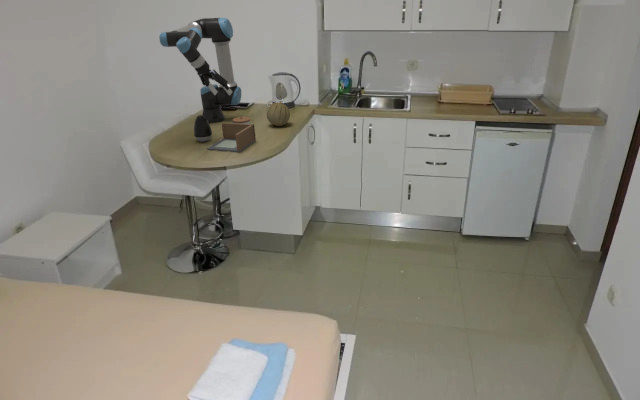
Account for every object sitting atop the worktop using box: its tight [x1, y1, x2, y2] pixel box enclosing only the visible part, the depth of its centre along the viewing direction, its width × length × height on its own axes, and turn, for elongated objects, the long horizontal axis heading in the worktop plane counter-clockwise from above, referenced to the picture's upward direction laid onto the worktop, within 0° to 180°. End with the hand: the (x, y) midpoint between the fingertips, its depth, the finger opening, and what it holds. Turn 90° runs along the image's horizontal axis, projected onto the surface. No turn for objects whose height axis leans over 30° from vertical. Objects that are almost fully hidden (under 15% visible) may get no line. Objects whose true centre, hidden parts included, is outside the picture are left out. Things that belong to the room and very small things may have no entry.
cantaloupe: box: [266, 101, 291, 127], centre depth 283 cm, size 15×15×15 cm
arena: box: [206, 122, 257, 153], centre depth 251 cm, size 20×20×10 cm
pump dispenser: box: [193, 114, 213, 143], centre depth 260 cm, size 10×10×15 cm
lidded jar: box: [232, 115, 251, 124], centre depth 276 cm, size 11×11×9 cm
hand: (223, 93), depth 255 cm, fingers open, 13 cm apart
